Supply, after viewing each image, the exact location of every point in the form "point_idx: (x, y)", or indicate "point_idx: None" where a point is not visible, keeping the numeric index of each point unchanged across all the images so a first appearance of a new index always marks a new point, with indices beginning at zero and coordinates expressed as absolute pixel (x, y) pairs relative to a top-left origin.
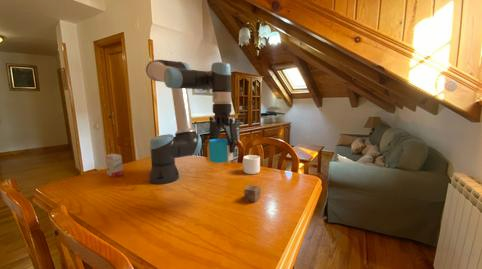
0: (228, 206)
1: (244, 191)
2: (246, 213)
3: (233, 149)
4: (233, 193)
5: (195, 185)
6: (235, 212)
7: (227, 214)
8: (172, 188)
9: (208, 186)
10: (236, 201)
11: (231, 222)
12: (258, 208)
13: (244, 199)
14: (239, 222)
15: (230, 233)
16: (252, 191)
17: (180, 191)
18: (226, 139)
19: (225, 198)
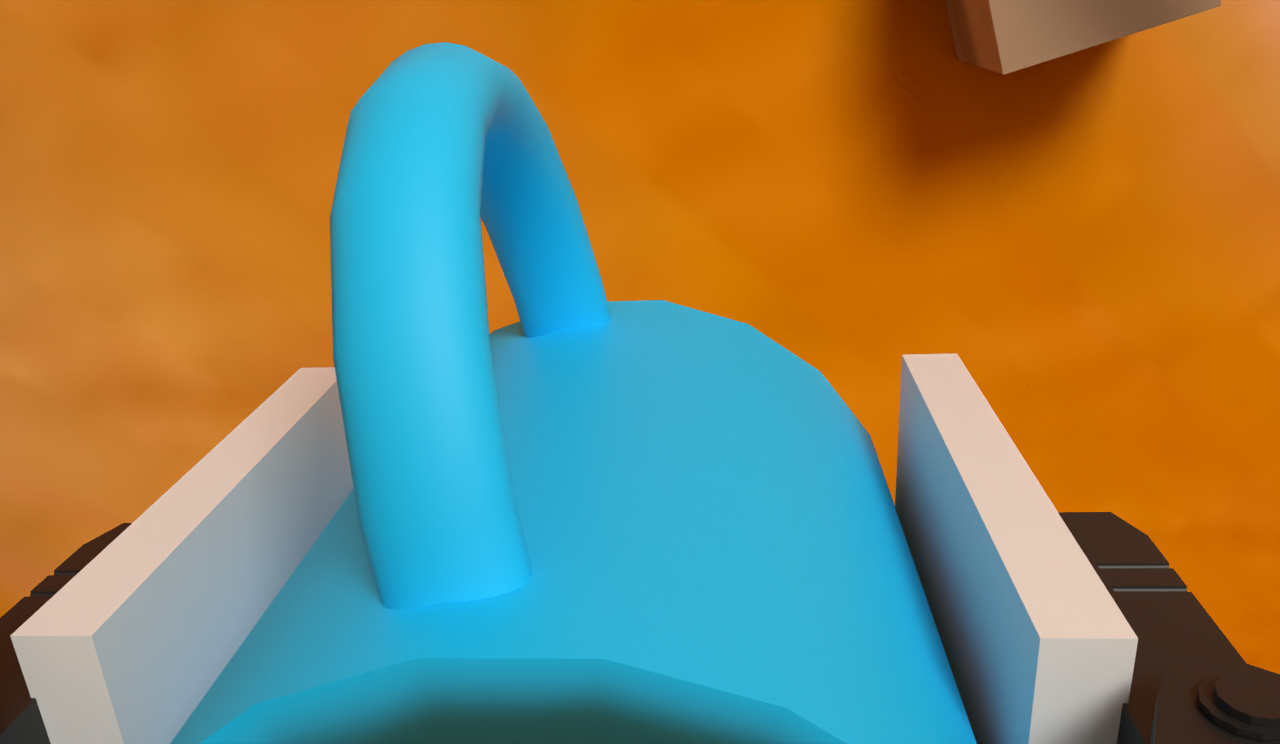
0: (911, 327)
1: (996, 69)
2: (1200, 291)
3: (1172, 601)
4: (679, 19)
5: (71, 252)
6: (1076, 362)
7: (1030, 447)
8: (9, 508)
9: (215, 135)
10: (897, 167)
11: (1170, 513)
12: (1265, 94)
13: (964, 60)
14: (1241, 463)
15: (1276, 623)
16: (1158, 21)
17: (156, 487)
18: (591, 725)
19: (719, 214)
